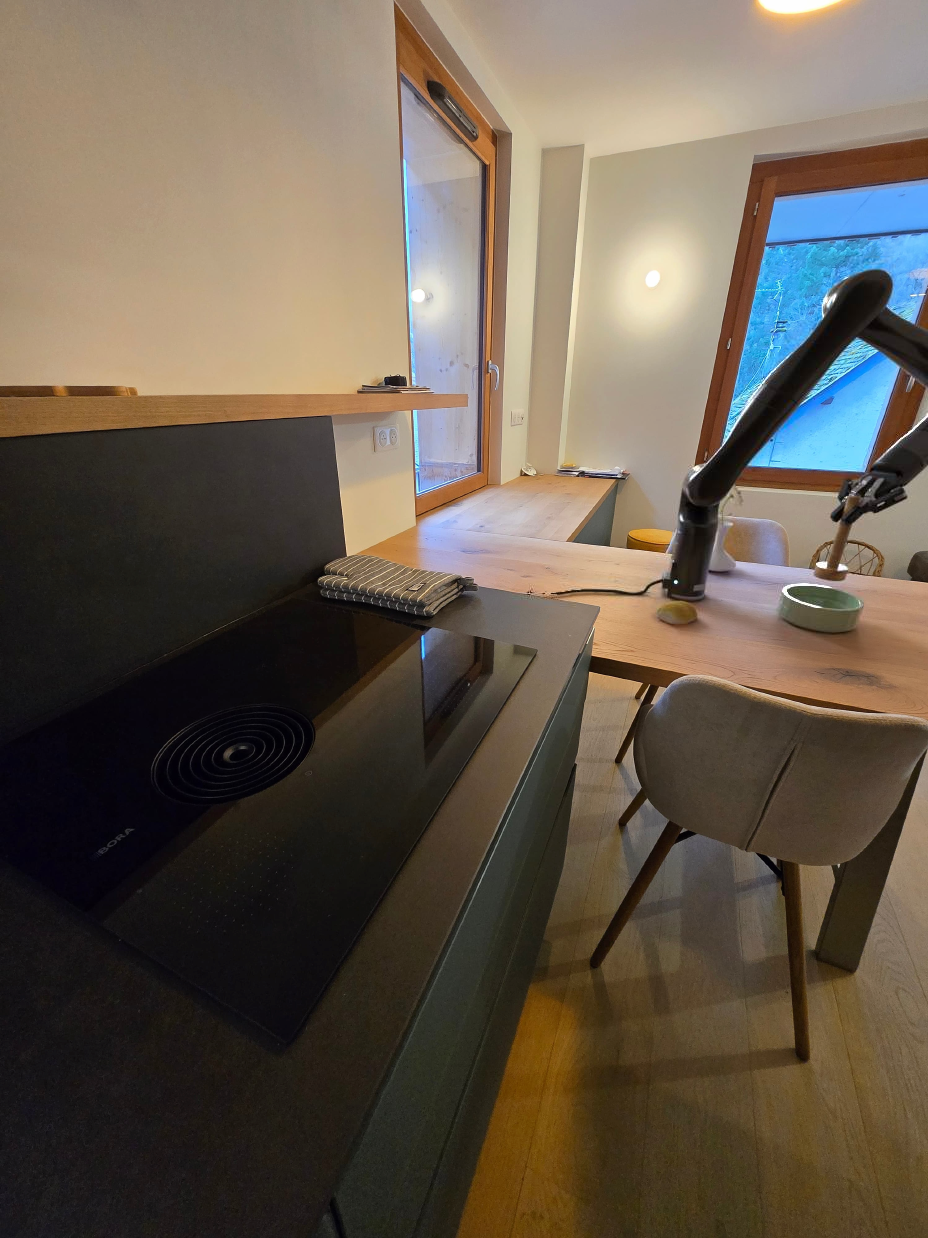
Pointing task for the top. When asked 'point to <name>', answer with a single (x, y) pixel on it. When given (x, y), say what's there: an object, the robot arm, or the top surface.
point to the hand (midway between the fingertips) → (838, 520)
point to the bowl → (820, 608)
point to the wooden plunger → (837, 549)
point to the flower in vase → (719, 555)
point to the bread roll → (677, 612)
